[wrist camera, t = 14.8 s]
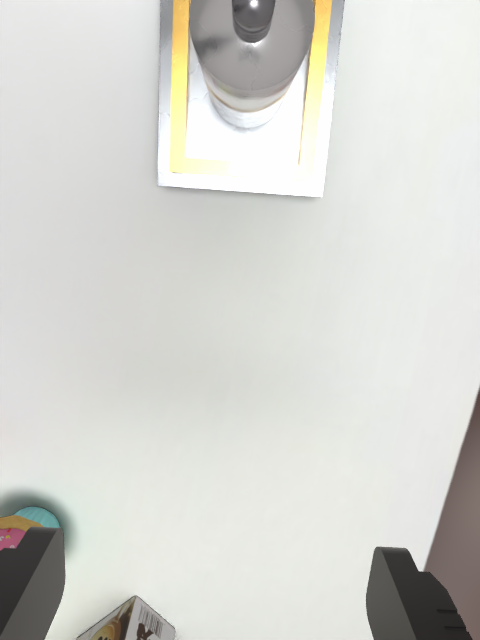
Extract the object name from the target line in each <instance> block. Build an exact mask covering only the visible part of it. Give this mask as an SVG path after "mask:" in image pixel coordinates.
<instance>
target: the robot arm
mask: <svg viewBox="0 0 480 640" xmlns="http://www.w3.org/2000/svg"><path fill="white" fill-rule="evenodd" d="M64 585H65V557H64V535H63V530H62V529H61V528H52V527H34V526H32V527H30V528H29V529H28V530H27V531H26V533H25V535H24V536H23V538H22V539H21V541H20V543H19V544H18V546H17V548H3V549H2V550H1V551H0V640H44V639H45V637H46V635H47V632H48V630H49V628H50V625H51V623H52V621H53V618H54V616H55V614H56V611H57V609H58V607H59V604H60V602H61V599H62V595H63V591H64ZM366 609H367V616H368V621H369V625H370V628H371V631H372V635H373V638H374V640H472V638H471V636H470V634H469V632H467V631H466V626H465V624H464V622H463V620H462V618H461V616H460V615H459V614H458V613H457V609H456V607H455V605H454V603H453V601H452V599H451V597H450V595H449V593H448V591H447V590H446V589H445V588H444V587H443V586H442V585H441V583H440V582H439V581H438V580H437V579H436V578H435V577H434V576H433V575H432V574H431V573H430V572H419V571H418V569H417V567H416V565H415V563H414V561H413V559H412V556H411V554H410V552H409V551H408V550H407V549H406V548H393V547H376V548H375V550H374V554H373V560H372V565H371V571H370V576H369V582H368V587H367V593H366Z"/></svg>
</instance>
